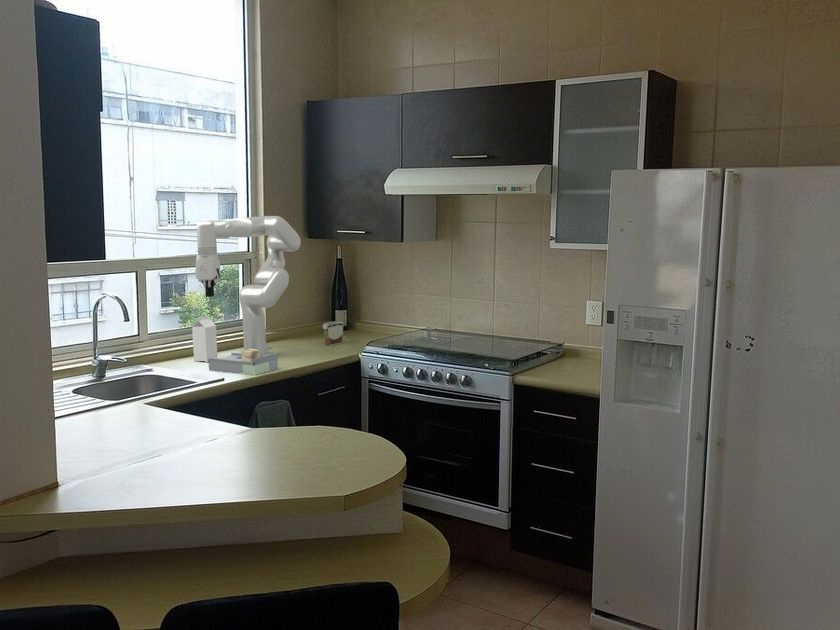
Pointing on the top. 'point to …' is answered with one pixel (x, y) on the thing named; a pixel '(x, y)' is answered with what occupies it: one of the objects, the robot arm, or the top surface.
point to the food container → (333, 332)
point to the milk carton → (204, 339)
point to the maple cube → (249, 354)
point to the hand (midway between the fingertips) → (209, 296)
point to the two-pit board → (244, 364)
